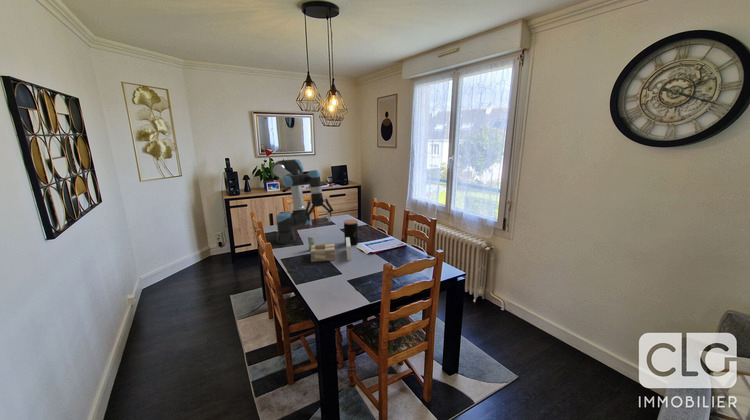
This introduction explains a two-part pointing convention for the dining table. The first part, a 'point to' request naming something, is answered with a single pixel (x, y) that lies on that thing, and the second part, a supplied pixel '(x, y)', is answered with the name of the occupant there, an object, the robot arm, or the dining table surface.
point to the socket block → (322, 252)
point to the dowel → (310, 242)
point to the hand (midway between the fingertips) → (320, 223)
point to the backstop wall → (348, 248)
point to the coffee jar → (351, 231)
